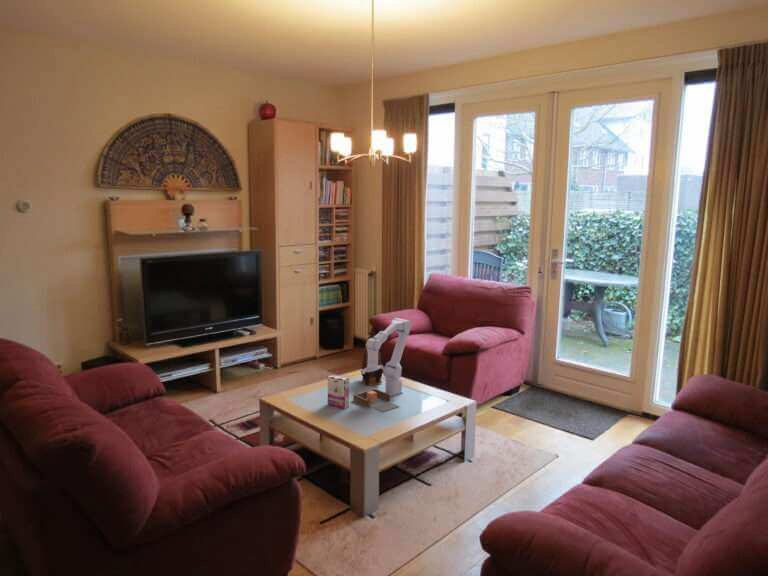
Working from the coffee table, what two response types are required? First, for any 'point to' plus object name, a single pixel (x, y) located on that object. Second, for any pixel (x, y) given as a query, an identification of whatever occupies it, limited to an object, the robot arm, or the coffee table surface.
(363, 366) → the lantern
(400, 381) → the robot arm
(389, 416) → the coffee table surface
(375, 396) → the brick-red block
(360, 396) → the walnut arch
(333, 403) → the candy bar box
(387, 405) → the grey mat
